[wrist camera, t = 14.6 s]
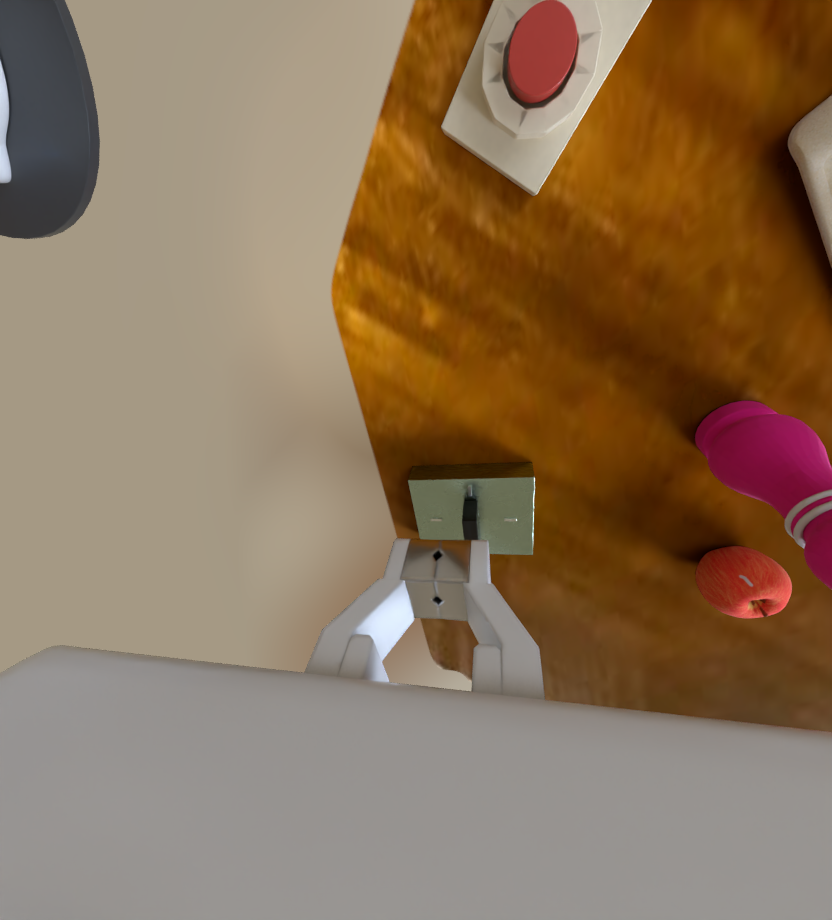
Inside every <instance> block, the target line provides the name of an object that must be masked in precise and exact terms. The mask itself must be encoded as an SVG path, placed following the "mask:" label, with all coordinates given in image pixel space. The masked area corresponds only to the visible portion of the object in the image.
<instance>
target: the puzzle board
mask: <svg viewBox="0 0 832 920" xmlns="http://www.w3.org/2000/svg"><path fill="white" fill-rule="evenodd" d="M788 148H789V151H790V153H791V155H792V157H793V159H794V160H795V162H796V164H797V166H798V168H799V171H800V174H801V177H802V180H803V183H804V186H805V189H806V192H807V195H808V198H809V201H810V204H811V207H812V210H813V213H814V216H815V219H816V222H817V225H818V228H819V231H820V234H821V237H822V240H823V243H824V247H825V250H826V253H827V256H828V259H829V262H830V265H831V268H832V95H831V96H830V97H829V98H827V99H826V100H825V101H824V102H822V103H821V104H820V105H819V106H817V107H816V108H815V109H814V110H812V111H811V112H810V113H808V114H807V115H806V116H805V117H804V118H802V119H801V120H800V121H799V122H798V123H797V124H796V125H795V126H794V128H793V129H792V131H791V133H790V135H789V138H788Z"/></svg>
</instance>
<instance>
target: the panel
mask: <svg viewBox="0 0 832 920" xmlns="http://www.w3.org/2000/svg"><path fill="white" fill-rule="evenodd" d="M408 484H409V488H410V493H411V498H412V502H413V507H414V512H415V517H416V521H417V526H418V531H419V536H420V539H429V540H464V535H463V527H462V514H463V503H464V501H474V500H477V501H478V511H479V523H480V534H481V540H488V543H489V554H520V555H533V522H534V486H535V476H534V471H533V465H532V462H519V463H489V464H460V465H430V466H412V469H411V472H410V476H409V479H408Z"/></svg>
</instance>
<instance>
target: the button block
mask: <svg viewBox="0 0 832 920" xmlns="http://www.w3.org/2000/svg"><path fill="white" fill-rule="evenodd" d="M541 1H545V0H493V3H492V5H491V8H490V10H489V12H488V15H487V17H486V20H485V22H484V25H483V27H482V29H481V32H480V34H479V37H478V39H477V41H476V44H475V46H474V49H473V51H472V53H471V56H470V58H469V61H468V63H467V65H466V68H465V70H464V73H463V75H462V77H461V80H460V82H459V85H458V87H457V90H456V92H455V94H454V97H453V99H452V102H451V104H450V106H449V109H448V111H447V114H446V116H445V118H444V121H443V123H442V126H441V128H442V130H443V132H444V134H445V135H447V136H448V137H449V138H451V139H452V140H454V141H455V142H457V143H458V144H459V145H461V146H462V147H464V148H465V149H467V150H468V151H469V152H471V153H472V154H474V155H475V156H477V157H478V158H479V159H481V160H482V161H484V162H485V163H486V164H488V165H489V166H491V167H492V168H494V169H495V170H496V171H498V172H499V173H501V174H502V175H504V176H505V177H506V178H508V179H509V180H511V181H512V182H514V183H515V184H516V185H518V186H519V187H521V188H522V189H523V190H525V191H526V192H528V193H529V194H531V195H532V196H534V195H536V194H537V193H538V191H539V190H540V188H541V186H542V185H543V183H544V181H545V180H546V178H547V176H548V175H549V173H550V171H551V170H552V168H553V166H554V164H555V163H556V161H557V159H558V158H559V156H560V154H561V153H562V151H563V149H564V148H565V146H566V144H567V143H568V141H569V139H570V138H571V136H572V134H573V132H574V131H575V129H576V127H577V126H578V124H579V122H580V121H581V119H582V117H583V116H584V114H585V112H586V111H587V109H588V107H589V105H590V104H591V102H592V100H593V99H594V97H595V95H596V94H597V92H598V90H599V89H600V87H601V85H602V84H603V82H604V80H605V78H606V77H607V75H608V73H609V72H610V70H611V68H612V67H613V65H614V63H615V62H616V60H617V58H618V57H619V55H620V53H621V52H622V50H623V48H624V46H625V45H626V43H627V41H628V40H629V38H630V36H631V35H632V33H633V31H634V30H635V28H636V26H637V25H638V23H639V21H640V19H641V18H642V16H643V14H644V13H645V11H646V9H647V8H648V6H649V4H650V3H651V1H652V0H557V1H560V2H562V3H563V4H565V5H566V6H567V7H568V8H569V10H570V11H571V13H572V15H573V17H574V19H575V22H576V27H577V47H576V52H575V56H574V59H573V62H572V64H571V67H570V69H569V71H568V73H567V74H566V76H565V78H564V80H563V82H562V83H561V85H560V86H559V88H558V89H557V90H556V91H555V92H554V93H553V94H552V95H551V96H550V97H548V98H547V99H545V100H543V101H541V102H538V103H526V102H524V101H522V100H520V99H519V98H518V97H517V96H516V95H515V94H514V92H513V91H512V89H511V87H510V84H509V80H508V73H507V63H508V55H509V47H510V42H511V39H512V35H513V33H514V30H515V28H516V26H517V24H518V23H519V21H520V19H521V18H522V17H523V15H524V14H525V13H526V12H527V11H528V10H529V9H530V8H531V7H533V6H534V5H535V4H537V3H539V2H541Z"/></svg>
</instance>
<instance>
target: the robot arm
mask: <svg viewBox="0 0 832 920" xmlns="http://www.w3.org/2000/svg"><path fill="white" fill-rule="evenodd" d="M8 122H9V97H8V90H7V84H6V79H5V75H4V71H3V67H2V64H1V61H0V183H8V182H10V180H11V166H10V161H9V156H8V152H7V148H6V134H7V128H8ZM414 618H436V619H449V620H460V621H468V623H469V625H470V627H471V629H472V631H473V633H474V635H475V636H476V638H477V640H478V642H479V644H478V645H477V646H476V647H475V648H474V656H473V674H472V692H470V691H462V690H453V689H444V688H435V687H427V686H418V685H409V684H400V683H391V682H389V679H388V677H387V674H386V672H385V669H384V666H383V664H382V661H383V659H384V658H385V657H386V655H387V654H388V653H389V651H390V650H391V649H392V648H393V646H394V645H395V644H396V643H397V641H398V640H399V639H400V637H401V636H402V635H403V634H404V632H405V631H406V630H407V628H408V627H409V626H410V625H411V623H412V622H413V621H414ZM0 920H832V732H826V731H817V730H808V729H799V728H790V727H782V726H773V725H764V724H755V723H746V722H737V721H728V720H719V719H710V718H702V717H693V716H684V715H675V714H666V713H657V712H648V711H639V710H630V709H621V708H613V707H604V706H595V705H586V704H577V703H568V702H559V701H550V700H545V696H544V687H543V678H542V669H541V660H540V651H539V647H538V646H537V644H536V643H535V642H534V640H533V639H532V637H531V636H530V635H529V633H528V632H527V631H526V629H525V628H524V626H523V625H522V624H521V622H520V621H519V619H518V618H517V617H516V615H515V614H514V613H513V611H512V610H511V608H510V607H509V606H508V604H507V603H506V602H505V600H504V599H503V597H502V596H501V595H500V593H499V592H498V590H497V589H496V588H495V586H494V585H493V584H491V578H490V559H489V543H488V540H429V539H398V538H396V540H395V541H394V542H393V546H392V549H391V553H390V556H389V559H388V562H387V566H386V569H385V572H384V576H383V579H377V581H375V582H374V583H373V584H372V585H371V586H370V587H369V588H368V589H366V590H365V591H364V592H363V593H362V594H361V595H360V596H359V597H358V598H357V599H355V600H354V601H353V602H352V603H351V604H350V605H349V606H348V607H347V608H345V609H344V610H343V611H342V612H341V613H340V614H339V615H338V616H337V617H336V618H334V619H333V620H332V621H331V622H330V623H329V624H328V625H327V626H326V627H325V628H323V629H322V631H321V634H320V636H319V638H318V641H317V643H316V646H315V648H314V651H313V653H312V655H311V658H310V660H309V663H308V665H307V668H306V670H305V672H304V673H302V672H293V671H284V670H275V669H266V668H257V667H248V666H239V665H231V664H222V663H213V662H204V661H195V660H186V659H178V658H169V657H160V656H151V655H142V654H133V653H124V652H115V651H107V650H98V649H90V648H81V647H73V646H63V645H60V646H53V647H49V648H46V649H44V650H42V651H40V652H38V653H36V654H34V655H32V656H30V657H28V658H26V659H25V660H22V661H21V662H19V663H17V664H15V665H13V666H12V667H10V668H8V669H6V670H5V671H3V672H1V673H0Z"/></svg>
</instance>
